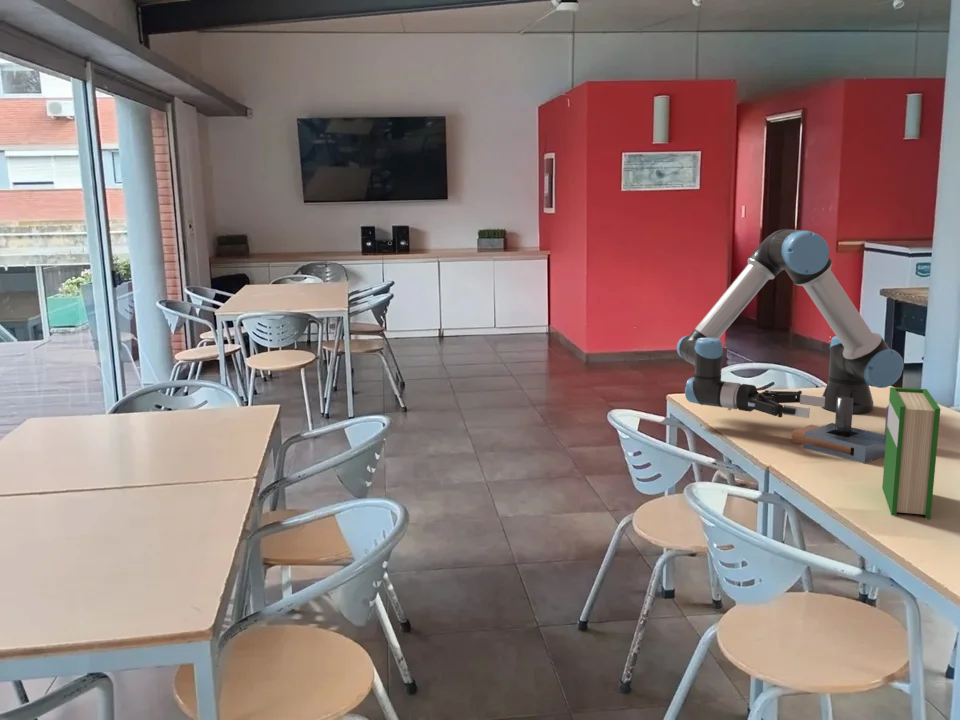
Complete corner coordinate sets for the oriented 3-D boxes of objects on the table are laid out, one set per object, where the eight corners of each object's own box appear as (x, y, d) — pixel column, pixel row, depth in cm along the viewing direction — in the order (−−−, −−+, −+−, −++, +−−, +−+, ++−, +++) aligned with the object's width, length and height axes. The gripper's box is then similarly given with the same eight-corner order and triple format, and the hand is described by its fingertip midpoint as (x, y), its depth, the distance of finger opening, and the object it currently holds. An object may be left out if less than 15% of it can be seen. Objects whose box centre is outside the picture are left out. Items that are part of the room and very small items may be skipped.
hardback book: (930, 519, 178) (940, 408, 173) (891, 515, 181) (900, 406, 176) (917, 490, 194) (926, 389, 190) (882, 487, 197) (890, 387, 192)
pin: (838, 445, 228) (842, 395, 225) (852, 449, 225) (856, 398, 222) (830, 448, 226) (833, 397, 223) (844, 452, 223) (848, 400, 220)
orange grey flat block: (787, 443, 231) (788, 427, 230) (814, 434, 239) (815, 419, 238) (864, 463, 214) (865, 446, 213) (891, 453, 221) (892, 436, 220)
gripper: (755, 400, 251) (829, 410, 238) (722, 419, 231) (801, 431, 219) (756, 375, 249) (831, 384, 236) (723, 392, 230) (803, 403, 217)
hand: (817, 407), depth 227 cm, fingers open, 13 cm apart
